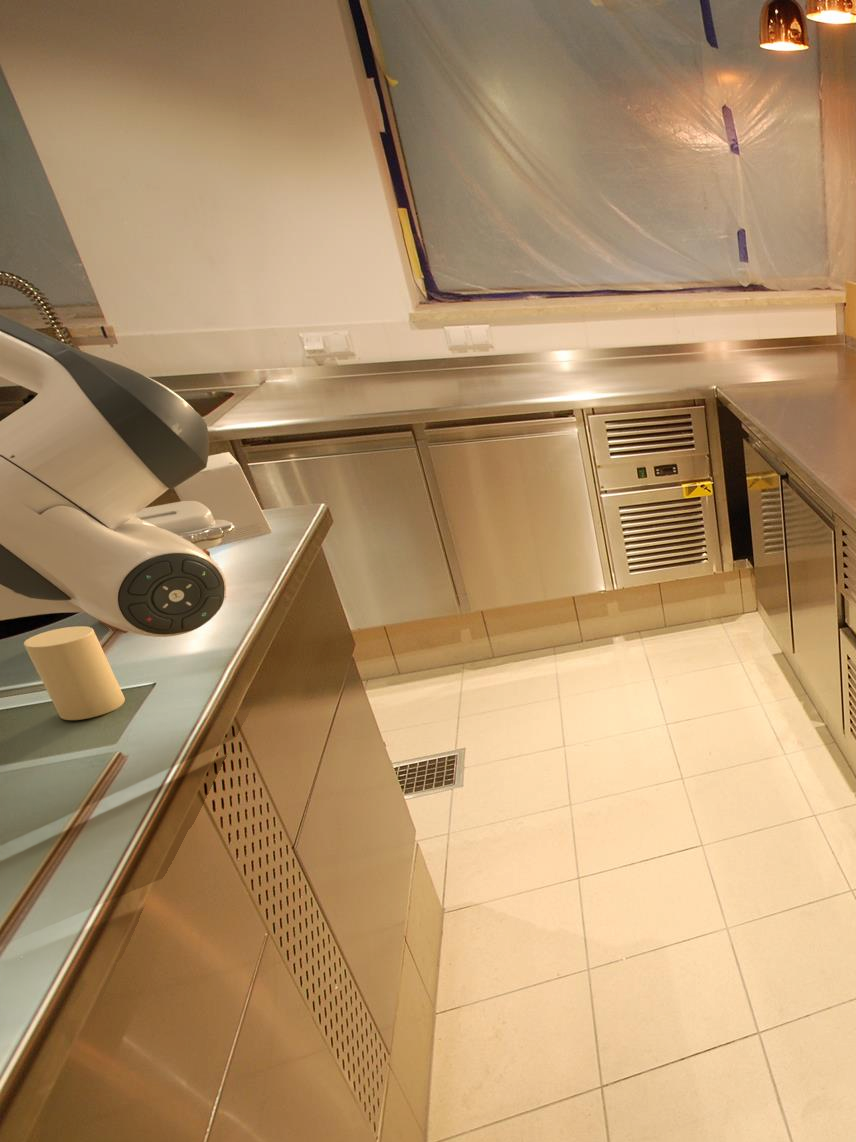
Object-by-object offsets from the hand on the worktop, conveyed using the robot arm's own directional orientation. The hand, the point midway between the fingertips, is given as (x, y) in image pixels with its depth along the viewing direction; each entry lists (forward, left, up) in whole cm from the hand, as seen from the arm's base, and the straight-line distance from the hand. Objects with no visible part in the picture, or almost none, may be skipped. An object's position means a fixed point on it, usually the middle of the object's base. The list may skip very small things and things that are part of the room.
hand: (52, 531), depth 81 cm
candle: (-1, +10, -22) cm, 25 cm away
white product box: (+31, +57, -22) cm, 68 cm away
